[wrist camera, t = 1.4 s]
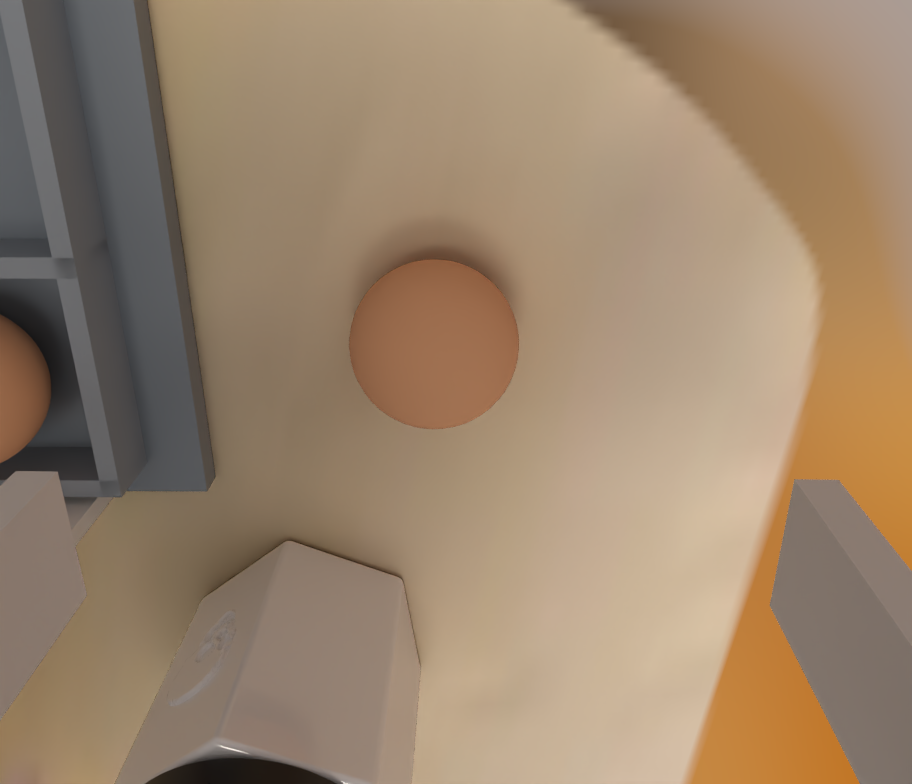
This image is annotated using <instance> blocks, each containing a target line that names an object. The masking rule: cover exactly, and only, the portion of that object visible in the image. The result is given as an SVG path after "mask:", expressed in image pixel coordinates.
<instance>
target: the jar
mask: <svg viewBox="0 0 912 784" xmlns="http://www.w3.org/2000/svg"><path fill="white" fill-rule="evenodd" d="M420 674H421V668H420V663H419V658H418V654H417V649H416V644H415V639H414V634H413V629H412V624H411V619H410V614H409V609H408V604H407V599H406V594H405V589H404V584H403V581H402V579H400V578H399V577H397V576H394V575H391V574H388V573H385V572H382V571H379V570H376V569H373V568H370V567H367V566H364V565H361V564H358V563H355V562H352V561H349V560H346V559H343V558H340V557H337V556H334V555H332V554H329V553H326V552H323V551H320V550H317V549H314V548H311V547H308V546H305V545H302V544H299V543H296V542H293V541H285V542H284V543H282V544H281V545H279V546H278V547H276V548H275V549H274V550H272V551H271V552H269V553H268V554H266V555H265V556H263V557H262V558H260V559H259V560H258V561H256V562H255V563H253V564H252V565H250V566H249V567H247V568H246V569H245V570H243V571H242V572H240V573H239V574H237V575H236V576H234V577H233V578H232V579H230V580H229V581H227V582H226V583H224V584H223V585H221V586H220V587H219V588H217V589H216V590H214V591H213V592H211V593H210V594H208V595H207V596H206V597H204V598H203V599H202V600H201V602H200V604H199V606H198V608H197V611H196V613H195V615H194V617H193V619H192V621H191V623H190V625H189V627H188V630H187V632H186V634H185V636H184V638H183V640H182V642H181V644H180V646H179V649H178V651H177V653H176V655H175V657H174V659H173V661H172V663H171V665H170V668H169V670H168V672H167V674H166V676H165V678H164V680H163V682H162V684H161V686H160V689H159V691H158V693H157V695H156V697H155V699H154V701H153V703H152V705H151V708H150V710H149V712H148V714H147V716H146V718H145V720H144V722H143V724H142V727H141V729H140V731H139V733H138V735H137V737H136V739H135V741H134V743H133V745H132V748H131V750H130V752H129V754H128V756H127V758H126V760H125V762H124V764H123V767H122V769H121V771H120V773H119V775H118V777H117V779H116V781H115V783H114V784H412V776H413V763H414V750H415V737H416V725H417V712H418V699H419V686H420Z"/></svg>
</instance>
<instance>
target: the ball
mask: <svg viewBox="0 0 912 784" xmlns="http://www.w3.org/2000/svg"><path fill="white" fill-rule="evenodd" d="M349 349H350V357H351V363H352V367H353V370H354V373H355V376H356V378H357V380H358V382H359V384H360V386H361V387H362V389H363V391H364V392H365V394H366V395H367V396H368V398H369V399H370V400H371V401H372V402H373V403H374V404H375V405H376V406H377V407H378V408H379V409H380V410H381V411H383V412H384V413H385V414H387V415H388V416H390V417H392V418H393V419H395V420H398V421H400V422H402V423H404V424H407V425H411V426H414V427H419V428H426V429H443V428H449V427H455V426H458V425H461V424H464V423H467V422H469V421H471V420H473V419H475V418H477V417H478V416H480V415H482V414H483V413H484V412H486V411H487V410H488V409H489V408H491V407H492V406H493V405H494V404H495V403H496V401H497V400H498V399H499V398H500V397H501V396H502V394H503V393H504V392H505V390H506V388H507V387H508V385H509V383H510V381H511V379H512V376H513V373H514V371H515V368H516V364H517V360H518V351H519V337H518V330H517V324H516V321H515V318H514V315H513V312H512V310H511V308H510V306H509V304H508V302H507V300H506V299H505V297H504V296H503V294H502V293H501V292H500V290H499V289H498V288H497V287H496V286H495V285H494V284H493V283H492V282H491V281H490V280H489V279H487V278H486V277H485V276H484V275H482V274H481V273H479V272H478V271H476V270H474V269H472V268H470V267H468V266H466V265H463V264H460V263H457V262H453V261H448V260H439V259H429V260H420V261H415V262H411V263H408V264H405V265H402V266H400V267H398V268H396V269H394V270H392V271H390V272H389V273H387V274H386V275H384V276H383V277H381V278H380V279H379V280H378V281H377V282H376V283H375V284H374V285H373V286H372V287H371V288H370V289H369V290H368V292H367V293H366V294H365V296H364V298H363V299H362V301H361V302H360V304H359V306H358V308H357V310H356V312H355V315H354V318H353V322H352V325H351V331H350V338H349Z"/></svg>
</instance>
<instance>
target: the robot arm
mask: <svg viewBox="0 0 912 784" xmlns="http://www.w3.org/2000/svg"><path fill="white" fill-rule="evenodd" d="M86 596H87V593H86V589H85V585H84V581H83V576H82V572H81V568H80V564H79V560H78V555H77V551H76V547H75V543H74V538H73V534H72V530H71V526H70V521H69V517H68V513H67V509H66V505H65V500H64V496H63V492H62V488H61V483H60V479H59V475H58V472H52V471H15V472H14V473H13V474H12V475H11V476H10V477H9V478H8V479H7V480H6V481H5V482H4V483H3V484H2V485H1V486H0V720H1V718H2V717H3V716H4V714H5V713H6V711H7V710H8V708H9V707H10V706H11V704H12V703H13V701H14V700H15V698H16V697H17V695H18V694H19V693H20V691H21V690H22V688H23V687H24V685H25V684H26V682H27V681H28V680H29V678H30V677H31V675H32V674H33V672H34V671H35V670H36V668H37V667H38V665H39V664H40V662H41V661H42V659H43V658H44V657H45V655H46V654H47V652H48V651H49V649H50V648H51V646H52V645H53V644H54V642H55V641H56V639H57V638H58V636H59V635H60V634H61V632H62V631H63V629H64V628H65V626H66V625H67V623H68V622H69V621H70V619H71V618H72V616H73V615H74V613H75V612H76V610H77V609H78V608H79V606H80V605H81V603H82V602H83V600H84V599H85V598H86ZM770 607H771V609H772V611H773V613H774V615H775V617H776V619H777V621H778V623H779V625H780V627H781V629H782V630H783V632H784V634H785V636H786V638H787V640H788V642H789V644H790V646H791V648H792V650H793V652H794V654H795V656H796V658H797V660H798V662H799V664H800V666H801V668H802V670H803V672H804V674H805V676H806V678H807V680H808V682H809V684H810V686H811V688H812V690H813V692H814V693H815V696H816V698H817V700H818V702H819V703H820V706H821V708H822V709H823V711H824V713H825V715H826V717H827V719H828V721H829V723H830V725H831V727H832V729H833V731H834V733H835V735H836V737H837V739H838V741H839V743H840V745H841V747H842V749H843V751H844V753H845V755H846V757H847V759H848V761H849V763H850V765H851V767H852V768H853V771H854V773H855V774H856V777H857V779H858V780H859V783H860V784H912V571H911V570H910V569H909V567H908V566H907V565H906V564H905V562H904V561H903V560H902V559H901V558H900V556H899V555H898V554H897V552H896V551H895V550H894V549H893V547H892V546H891V545H890V544H889V542H888V541H887V540H886V539H885V537H884V536H883V535H882V534H881V532H880V531H879V530H878V529H877V528H876V526H875V525H874V524H873V522H872V521H871V520H870V519H869V518H868V516H867V515H866V514H865V512H864V511H863V510H862V509H861V507H860V506H859V505H858V504H857V502H856V501H855V500H854V499H853V497H852V496H851V495H850V494H849V493H848V491H847V490H846V489H845V488H844V486H843V485H842V484H841V482H840V481H839V480H794V485H793V490H792V495H791V500H790V505H789V510H788V515H787V520H786V525H785V530H784V536H783V541H782V546H781V551H780V556H779V562H778V566H777V571H776V577H775V581H774V587H773V592H772V597H771V602H770Z"/></svg>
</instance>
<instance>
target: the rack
mask: <svg viewBox="0 0 912 784" xmlns="http://www.w3.org/2000/svg"><path fill="white" fill-rule="evenodd" d="M0 314H1V315H2V316H4V317H6V318H8V319H10V320H11V321H12V322H14V323H15V324H17V325H18V326H19V327H21V328H22V329H23V330H24V331H25V332H26V333H27V334H28V335H29V336H30V337H31V338H32V339H33V340H34V342H35V343H36V344H37V346H38V347H39V349H40V351H41V352H42V354H43V356H44V358H45V360H46V363H47V365H48V369H49V372H50V378H51V400H50V405H49V409H48V412H47V415H46V418H45V420H44V422H43V424H42V426H41V428H40V429H39V431H38V432H37V434H36V435H35V436H34V438H33V439H32V440H31V441H30V442H29V443H28V444H27V445H26V446H25V447H24V448H23V449H22V450H21V451H19V452H18V453H17V454H15V455H14V456H12V457H11V458H9V459H8V460H6V461H4V462H2V463H0V486H1V485H2V484H3V483H4V482H5V481H6V480H7V479H8V478H9V477H10V476H11V475H12V474H13V473H14V472H15V471H52V472H58V475H59V479H60V483H61V488H62V492H63V496H64V500H65V505H66V509H67V513H68V517H69V521H70V526H71V530H72V534H73V538H74V543H75V547H76V545H77V544H78V543H79V541H80V540H81V539H82V537H83V536H84V535H85V534H86V532H87V531H88V530H89V528H90V527H91V526H92V525H93V523H94V522H95V521H96V519H97V518H98V517H99V515H100V514H101V513H102V512H103V510H104V509H105V508H106V506H107V505H108V504H109V502H110V501H111V500H112V499H113V497H122V496H123V495H124V494H125V492H126V491H208V489H209V487H210V485H211V484H212V482H213V480H214V478H215V470H214V463H213V456H212V449H211V442H210V435H209V428H208V421H207V415H206V408H205V401H204V394H203V387H202V380H201V373H200V366H199V359H198V352H197V345H196V338H195V331H194V324H193V317H192V310H191V303H190V296H189V289H188V282H187V275H186V268H185V261H184V254H183V248H182V241H181V234H180V227H179V220H178V213H177V206H176V199H175V192H174V185H173V178H172V171H171V164H170V157H169V150H168V143H167V136H166V129H165V122H164V115H163V108H162V101H161V94H160V87H159V80H158V74H157V67H156V60H155V53H154V46H153V39H152V32H151V25H150V18H149V11H148V4H147V0H0Z"/></svg>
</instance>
